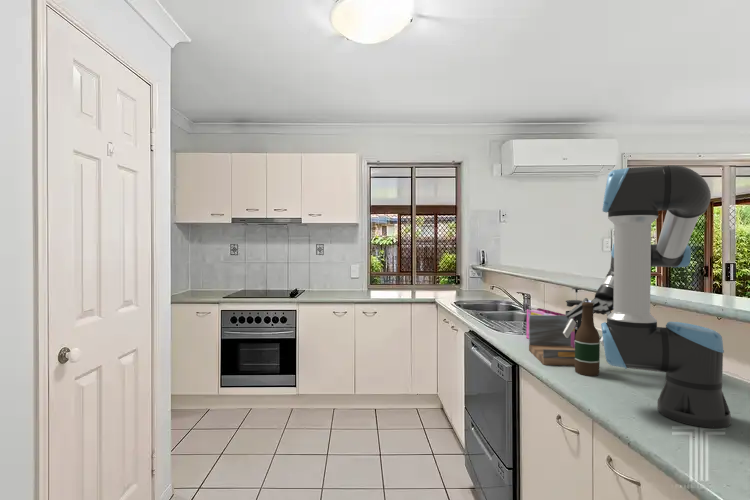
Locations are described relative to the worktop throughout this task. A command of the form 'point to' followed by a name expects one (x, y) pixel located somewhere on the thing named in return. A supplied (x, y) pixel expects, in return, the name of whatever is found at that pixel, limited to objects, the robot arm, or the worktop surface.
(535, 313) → the gum box
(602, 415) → the worktop surface
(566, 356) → the shelf
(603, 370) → the worktop surface
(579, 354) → the beer bottle
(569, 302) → the french press
